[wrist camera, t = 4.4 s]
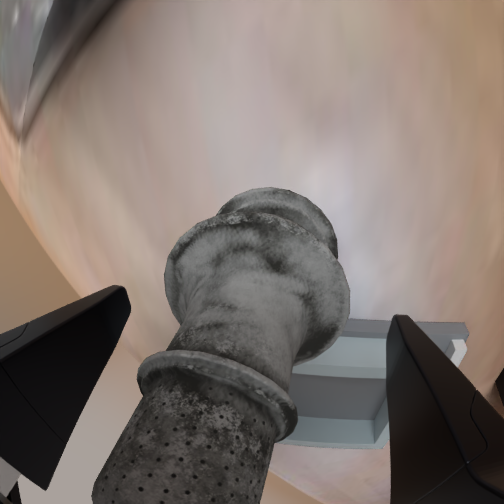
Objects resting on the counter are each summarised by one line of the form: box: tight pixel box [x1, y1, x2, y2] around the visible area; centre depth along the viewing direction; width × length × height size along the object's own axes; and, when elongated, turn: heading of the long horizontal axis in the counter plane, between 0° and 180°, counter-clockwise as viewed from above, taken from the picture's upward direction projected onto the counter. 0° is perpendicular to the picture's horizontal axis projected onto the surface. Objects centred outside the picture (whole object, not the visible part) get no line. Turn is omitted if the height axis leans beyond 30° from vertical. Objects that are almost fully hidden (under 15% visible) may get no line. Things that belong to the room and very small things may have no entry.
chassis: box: [277, 319, 469, 449], centre depth 20 cm, size 18×12×4 cm, turn 92°
